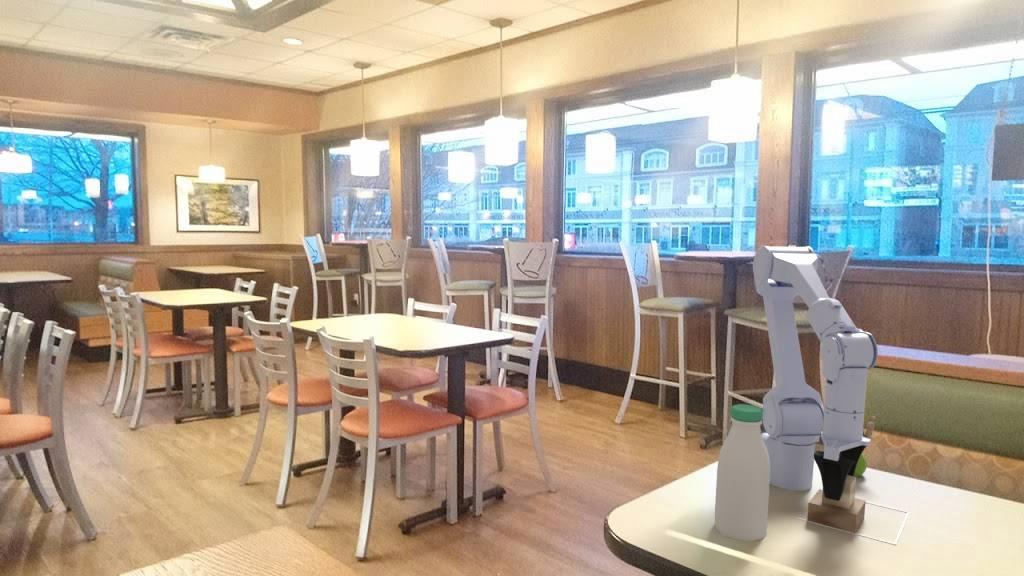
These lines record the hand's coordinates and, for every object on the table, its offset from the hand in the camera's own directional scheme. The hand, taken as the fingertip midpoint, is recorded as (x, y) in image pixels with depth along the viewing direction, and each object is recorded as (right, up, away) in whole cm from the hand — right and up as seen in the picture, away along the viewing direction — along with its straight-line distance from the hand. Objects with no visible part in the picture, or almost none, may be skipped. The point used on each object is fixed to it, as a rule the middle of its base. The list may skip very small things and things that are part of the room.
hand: (838, 490), depth 110 cm
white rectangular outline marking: (+4, -5, +2) cm, 7 cm away
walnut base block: (0, -5, +1) cm, 5 cm away
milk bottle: (-17, -6, -3) cm, 18 cm away
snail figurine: (+12, -4, +20) cm, 24 cm away
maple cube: (0, -2, 0) cm, 2 cm away
